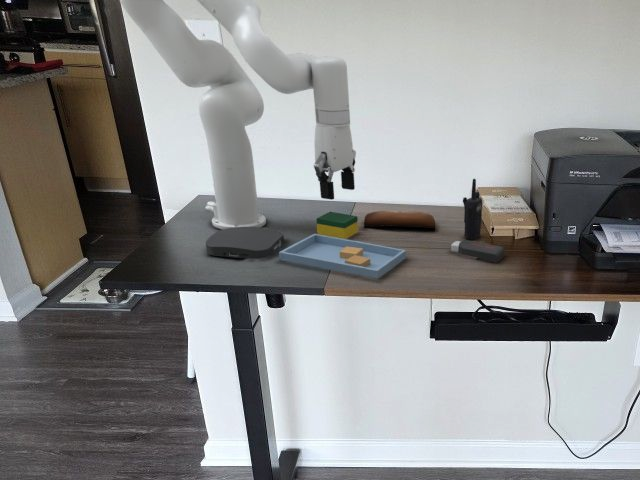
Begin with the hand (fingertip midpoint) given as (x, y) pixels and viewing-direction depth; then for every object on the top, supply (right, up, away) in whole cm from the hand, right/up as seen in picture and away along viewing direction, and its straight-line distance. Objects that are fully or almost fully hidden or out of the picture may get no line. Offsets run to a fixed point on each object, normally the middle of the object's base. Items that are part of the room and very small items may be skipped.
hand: (338, 193), depth 160 cm
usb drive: (+33, -15, 0) cm, 36 cm away
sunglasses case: (+12, -5, +15) cm, 20 cm away
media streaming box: (-19, -14, -7) cm, 25 cm away
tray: (+4, -18, -10) cm, 21 cm away
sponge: (-1, -9, +5) cm, 10 cm away
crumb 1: (+5, -16, -8) cm, 19 cm away
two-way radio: (+31, -8, +11) cm, 34 cm away
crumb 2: (+7, -19, -13) cm, 24 cm away
